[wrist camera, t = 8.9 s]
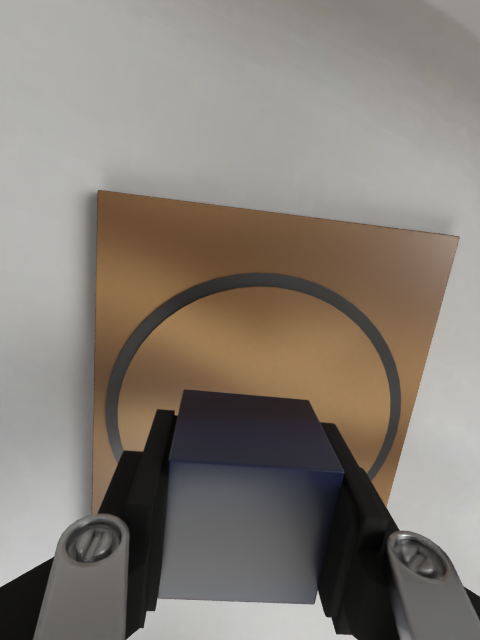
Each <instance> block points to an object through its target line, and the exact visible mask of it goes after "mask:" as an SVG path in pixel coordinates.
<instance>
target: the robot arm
mask: <svg viewBox="0 0 480 640" xmlns="http://www.w3.org/2000/svg"><path fill="white" fill-rule="evenodd" d="M177 417H178V415H175V410H163V409H157V411H156V414H155V417H154V420H153V423H152V426H151V429H150V432H149V435H148V438H147V441H146V444H145V447H144V450H143V451H129V450H124V451H123V453H122V455H121V457H120V460H119V462H118V465H117V467H116V470H115V472H114V474H113V477H112V479H111V482H110V484H109V487H108V489H107V491H106V494H105V496H104V499H103V501H102V504H101V506H100V508H99V511H98V513H97V514H94V515H89V516H86V517H84V518H81V519H79V520H77V521H76V522H74V523H73V524H71V525H70V526H69V527H68V528H67V529H66V530H65V531H64V532H63V533H62V535H61V537H60V539H59V541H58V544H57V548H56V552H55V556H54V557H53V558H51V559H49V560H48V561H46V562H44V563H42V564H41V565H39V566H37V567H35V568H33V569H32V570H30V571H28V572H26V573H25V574H23V575H21V576H19V577H18V578H16V579H14V580H12V581H11V582H9V583H7V584H5V585H4V586H2V587H0V640H126V639H127V638H128V637H130V636H131V635H132V634H133V633H134V632H136V631H137V630H138V629H139V628H144V622H145V617H146V611H155V609H156V603H157V597H158V591H159V585H160V577H161V565H162V553H163V541H164V529H165V517H166V505H167V493H168V481H169V477H168V476H167V471H168V460H169V455H170V450H171V445H172V440H173V436H174V431H175V426H176V421H177ZM320 424H321V426H322V428H323V430H324V432H325V434H326V436H327V438H328V440H329V442H330V444H331V446H332V448H333V450H334V452H335V454H336V456H337V458H338V460H339V462H340V464H341V466H342V468H343V470H344V476H343V480H342V485H341V488H340V489H339V493H338V498H337V502H336V507H335V511H334V516H333V520H332V524H331V529H330V533H329V538H328V542H327V547H326V551H325V556H324V560H323V564H322V569H321V573H320V578H319V582H318V587H317V588H318V592H319V595H320V599H321V603H322V607H323V610H324V613H325V615H326V617H332V621H333V625H334V628H335V632H336V634H344V635H353V636H354V637H355V638H356V639H358V640H480V597H479V596H478V595H476V594H475V593H473V592H472V591H470V590H468V589H467V588H465V587H464V586H463V585H462V583H461V580H460V578H459V576H458V574H457V572H456V570H455V568H454V566H453V564H452V562H451V560H450V559H449V557H448V556H447V554H446V553H445V552H444V551H443V550H442V549H441V548H440V547H439V546H438V545H436V544H435V543H434V542H432V541H431V540H430V539H428V538H426V537H424V536H422V535H420V534H417V533H414V532H410V531H400V530H399V529H398V527H397V525H396V524H395V522H394V520H393V518H392V517H391V515H390V513H389V511H388V510H387V508H386V506H385V504H384V503H383V501H382V499H381V498H380V496H379V494H378V492H377V491H376V489H375V487H374V485H373V484H372V482H371V480H370V478H369V477H368V475H367V473H366V472H365V470H364V469H363V468H361V467H359V465H358V464H357V462H356V460H355V458H354V456H353V455H352V453H351V451H350V449H349V448H348V446H347V444H346V442H345V440H344V439H343V437H342V435H341V433H340V432H339V430H338V428H337V426H336V425H335V424H334V423H324V422H320Z"/></svg>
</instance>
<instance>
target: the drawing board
mask: <svg viewBox="0 0 480 640" xmlns="http://www.w3.org/2000/svg"><path fill="white" fill-rule="evenodd" d="M459 238H460V237H459V236H452V235H445V234H437V233H429V232H421V231H413V230H406V229H398V228H390V227H382V226H375V225H367V224H359V223H351V222H343V221H336V220H328V219H320V218H312V217H305V216H297V215H289V214H281V213H274V212H266V211H258V210H250V209H242V208H235V207H227V206H219V205H211V204H204V203H196V202H188V201H180V200H172V199H165V198H157V197H149V196H141V195H134V194H126V193H118V192H110V191H103V190H98V205H97V257H96V310H95V362H94V414H93V467H92V515H94V514H97V513H98V511H99V508H100V506H101V504H102V501H103V499H104V496H105V494H106V491H107V489H108V487H109V484H110V482H111V479H112V477H113V474H114V472H115V470H116V467H117V465H118V462H119V460H120V457H121V455H122V453H123V451H124V450H129V451H143V450H144V447H145V444H146V441H147V438H148V435H149V432H150V429H151V426H152V423H153V420H154V417H155V414H156V411H157V409H163V410H175V415H178V412H179V407H180V402H181V398H182V393H183V390H184V389H188V390H199V391H211V392H222V393H234V394H246V395H257V396H269V397H281V398H292V399H304V400H309V401H310V403H311V405H312V407H313V409H314V411H315V413H316V416H317V418H318V420H319V422H324V423H334V424H335V425H336V426H337V428H338V430H339V432H340V433H341V435H342V437H343V439H344V440H345V442H346V444H347V446H348V448H349V449H350V451H351V453H352V455H353V456H354V458H355V460H356V462H357V464H358V465H359V467H361V468H363V469H364V470H365V472H366V473H367V475H368V477H369V478H370V480H371V482H372V484H373V485H374V487H375V489H376V491H377V492H378V494H379V496H380V498H381V499H382V501H383V503H384V504H385V506H387V503H388V499H389V495H390V492H391V488H392V484H393V481H394V477H395V473H396V470H397V466H398V462H399V459H400V455H401V451H402V448H403V444H404V440H405V437H406V433H407V429H408V426H409V422H410V418H411V415H412V411H413V407H414V403H415V400H416V396H417V392H418V389H419V385H420V381H421V378H422V374H423V370H424V367H425V363H426V359H427V356H428V352H429V348H430V345H431V341H432V337H433V334H434V330H435V326H436V323H437V319H438V315H439V312H440V308H441V304H442V301H443V297H444V293H445V289H446V286H447V282H448V278H449V275H450V271H451V267H452V264H453V260H454V256H455V253H456V249H457V245H458V242H459Z"/></svg>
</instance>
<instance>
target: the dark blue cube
mask: <svg viewBox="0 0 480 640" xmlns="http://www.w3.org/2000/svg"><path fill="white" fill-rule="evenodd" d="M167 476H168V477H169V481H168V493H167V505H166V517H165V529H164V541H163V553H162V565H161V577H160V585H159V591H158V598H160V599H186V600H212V601H238V602H264V603H290V604H314V603H315V599H316V595H317V591H318V588H317V587H318V582H319V578H320V573H321V569H322V564H323V560H324V556H325V551H326V547H327V542H328V538H329V533H330V529H331V524H332V520H333V516H334V511H335V507H336V502H337V498H338V493H339V489H340V488H341V485H342V480H343V476H344V470H343V468H342V466H341V464H340V462H339V460H338V458H337V456H336V454H335V452H334V450H333V448H332V446H331V444H330V442H329V440H328V438H327V436H326V434H325V432H324V430H323V428H322V426H321V424H320V422H319V420H318V418H317V416H316V413H315V411H314V409H313V407H312V405H311V403H310V401H309V400H304V399H292V398H281V397H269V396H257V395H246V394H234V393H222V392H211V391H199V390H188V389H184V390H183V393H182V398H181V402H180V407H179V412H178V417H177V421H176V426H175V431H174V436H173V440H172V445H171V450H170V455H169V460H168V471H167Z"/></svg>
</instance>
